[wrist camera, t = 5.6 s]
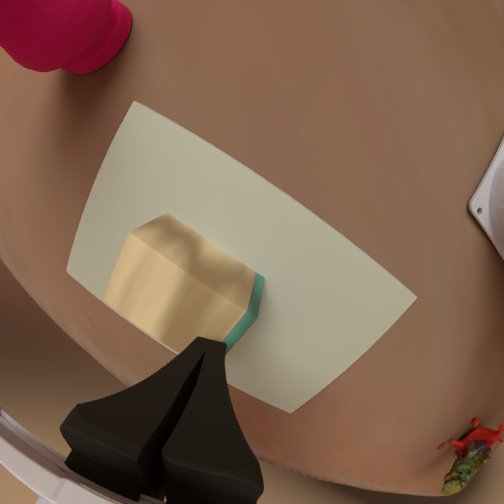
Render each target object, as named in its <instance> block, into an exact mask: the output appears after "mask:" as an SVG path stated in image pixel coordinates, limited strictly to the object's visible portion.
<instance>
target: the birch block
mask: <svg viewBox="0 0 504 504" xmlns="http://www.w3.org/2000/svg"><path fill="white" fill-rule="evenodd" d="M264 279H265V278H264V277H263V276H261V275H260V274H258V273H257V272H255V271H254V270H252V269H251V268H249V267H248V266H246V265H245V264H243V263H242V262H240V261H239V260H237V259H236V258H234V257H233V256H231V255H230V254H228V253H227V252H225V251H224V250H222V249H221V248H219V247H218V246H216V245H215V244H213V243H212V242H210V241H209V240H207V239H206V238H204V237H203V236H201V235H200V234H198V233H197V232H195V231H194V230H193V229H191V228H190V227H188V226H187V225H185V224H184V223H182V222H181V221H179V220H178V219H176V218H175V217H173V216H172V215H171V214H169V213H168V212H167V213H165V214H163V215H161V216H159V217H157V218H155V219H153V220H151V221H150V222H148V223H146V224H144V225H142V226H140V227H138V228H136V229H134V230H133V231H131V232H129V235H128V237H127V239H126V241H125V244H124V246H123V248H122V251H121V253H120V255H119V258H118V260H117V263H116V265H115V268H114V270H113V273H112V275H111V278H110V281H109V283H108V286H107V289H106V291H105V294H104V297H103V300H104V301H105V302H106V303H108V304H109V305H110V306H112V307H113V308H114V309H116V310H117V311H118V312H119V313H121V314H122V315H124V316H125V317H126V318H128V319H129V320H130V321H132V322H133V323H135V324H136V325H137V326H139V327H140V328H142V329H143V330H144V331H146V332H147V333H149V334H150V335H152V336H153V337H155V338H156V339H158V340H159V341H161V342H162V343H164V344H165V345H167V346H168V347H170V348H171V349H173V350H175V351H176V352H178V353H179V354H180V353H181V352H182V351H183V350H184V349H185V348H186V347H187V346H188V345H189V344H190V343H191V342H192V341H193V340H194V339H195V338H196V337H198V336H199V337H203V338H207V339H212V340H216V341H220V342H225V343H226V345H227V349H226V354H227V353H228V352H229V351H230V350H231V348H232V347H233V346H234V345H235V344H236V343H237V342H238V340H239V339H240V338H241V337H242V336H243V335H244V334H245V332H246V331H247V330H248V329H249V328H250V327H251V326H252V324H253V323H254V322H255V321H256V320H257V319H258V313H259V308H260V302H261V296H262V290H263V284H264Z"/></svg>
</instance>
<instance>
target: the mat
mask: <svg viewBox="0 0 504 504" xmlns="http://www.w3.org/2000/svg"><path fill="white" fill-rule="evenodd" d="M167 212H168V213H169V214H171V215H172V216H173V217H175V218H176V219H178V220H179V221H181V222H182V223H184V224H185V225H187V226H188V227H190V228H191V229H193V230H194V231H195V232H197V233H198V234H200V235H201V236H203V237H204V238H206V239H207V240H209V241H210V242H212V243H213V244H215V245H216V246H218V247H219V248H221V249H222V250H224V251H225V252H227V253H228V254H230V255H231V256H233V257H234V258H236V259H237V260H239V261H240V262H242V263H243V264H245V265H246V266H248V267H249V268H251V269H252V270H254V271H255V272H257V273H258V274H260V275H261V276H263V277H264V278H265V279H264V284H263V290H262V296H261V302H260V308H259V313H258V319H257V320H256V321H255V322H254V323H253V324H252V326H251V327H250V328H249V329H248V330H247V331H246V332H245V334H244V335H243V336H242V337H241V338H240V339H239V340H238V342H237V343H236V344H235V345H234V346H233V347H232V348H231V350H230V351H229V352H228V353H227V354H226V355H225V371H226V380H227V383H228V384H230V385H232V386H233V387H235V388H237V389H239V390H241V391H243V392H245V393H247V394H249V395H251V396H253V397H255V398H257V399H259V400H262V401H264V402H266V403H268V404H270V405H272V406H274V407H277V408H279V409H281V410H283V411H286V412H288V413H290V414H291V413H292V412H293V411H295V410H296V409H298V408H299V407H300V406H302V405H303V404H304V403H306V402H307V401H308V400H310V399H311V398H312V397H313V396H315V395H316V394H317V393H318V392H320V391H321V390H322V389H323V388H325V387H326V386H327V385H328V384H330V383H331V382H332V381H333V380H334V379H336V378H337V377H338V376H339V375H340V374H341V373H343V372H344V371H345V370H346V369H347V368H348V367H349V366H351V365H352V364H353V363H354V362H355V361H356V360H357V359H358V358H359V357H360V356H362V355H363V354H364V353H365V352H366V351H367V350H368V349H369V348H370V347H371V346H372V345H373V344H374V343H375V342H376V341H377V340H378V339H379V338H380V337H381V336H382V335H383V334H384V333H385V332H386V331H387V330H388V329H389V328H390V327H391V326H392V325H393V324H394V323H395V322H396V321H397V320H398V319H399V317H400V316H401V315H402V314H403V313H404V312H405V311H406V310H407V309H408V308H409V306H410V305H411V304H412V303H413V302H414V301H415V300H416V298H417V297H416V295H415V294H414V293H413V292H412V291H411V290H409V289H408V288H407V287H406V286H405V285H404V284H403V283H401V282H400V281H399V280H398V279H397V278H396V277H394V276H393V275H392V274H391V273H390V272H388V271H387V270H386V269H385V268H384V267H382V266H381V265H380V264H379V263H378V262H376V261H375V260H374V259H373V258H371V257H370V256H369V255H368V254H367V253H365V252H364V251H363V250H362V249H360V248H359V247H358V246H357V245H355V244H354V243H353V242H351V241H350V240H349V239H348V238H346V237H345V236H344V235H342V234H341V233H340V232H339V231H337V230H336V229H335V228H333V227H332V226H331V225H329V224H328V223H327V222H325V221H324V220H323V219H321V218H320V217H319V216H317V215H316V214H315V213H313V212H312V211H310V210H309V209H308V208H306V207H305V206H304V205H302V204H301V203H299V202H298V201H297V200H295V199H294V198H292V197H291V196H290V195H288V194H287V193H285V192H284V191H282V190H281V189H279V188H278V187H277V186H275V185H274V184H272V183H271V182H269V181H268V180H266V179H265V178H263V177H262V176H260V175H259V174H257V173H256V172H254V171H253V170H251V169H250V168H248V167H247V166H245V165H244V164H242V163H241V162H239V161H238V160H236V159H235V158H233V157H231V156H230V155H228V154H227V153H225V152H223V151H222V150H220V149H219V148H217V147H215V146H214V145H212V144H211V143H209V142H207V141H206V140H204V139H202V138H201V137H199V136H197V135H196V134H194V133H192V132H191V131H189V130H187V129H186V128H184V127H182V126H180V125H179V124H177V123H175V122H174V121H172V120H170V119H168V118H167V117H165V116H163V115H161V114H159V113H158V112H156V111H154V110H152V109H150V108H148V107H147V106H145V105H143V104H141V103H139V102H136V101H134V102H133V103H132V105H131V107H130V109H129V110H128V112H127V114H126V116H125V118H124V120H123V122H122V123H121V125H120V127H119V129H118V131H117V133H116V135H115V137H114V139H113V141H112V143H111V145H110V148H109V150H108V152H107V154H106V156H105V158H104V161H103V163H102V165H101V168H100V170H99V172H98V175H97V177H96V179H95V182H94V184H93V187H92V190H91V192H90V195H89V197H88V200H87V203H86V206H85V209H84V211H83V214H82V217H81V220H80V223H79V226H78V230H77V233H76V236H75V240H74V243H73V247H72V250H71V254H70V258H69V261H68V265H67V269H66V272H68V273H69V274H70V275H71V276H72V277H73V278H74V279H76V280H77V281H78V282H79V283H80V284H81V285H83V286H84V287H85V288H86V289H87V290H89V291H90V292H91V293H92V294H93V295H95V296H96V297H97V298H98V299H100V300H101V301H102V302H103V303H105V304H106V305H107V306H108V307H110V308H111V309H112V310H114V311H115V312H116V313H118V314H119V315H120V316H122V317H123V318H124V319H126V320H127V321H129V322H130V323H131V324H133V325H134V326H135V327H137V328H138V329H140V330H141V331H143V332H144V333H145V334H147V335H148V336H150V337H151V338H153V339H154V340H156V341H157V342H159V343H160V344H162V345H163V346H165V347H166V348H168V349H170V350H171V351H173V352H174V353H176V354H179V353H178V352H176V351H175V350H173V349H171V348H170V347H168V346H167V345H165V344H164V343H162V342H161V341H159V340H158V339H156V338H155V337H153V336H152V335H150V334H149V333H147V332H146V331H144V330H143V329H142V328H140V327H139V326H137V325H136V324H135V323H133V322H132V321H130V320H129V319H128V318H126V317H125V316H124V315H122V314H121V313H119V312H118V311H117V310H116V309H114V308H113V307H112V306H110V305H109V304H108V303H106V302H105V301H104V300H103V297H104V294H105V291H106V289H107V286H108V283H109V281H110V278H111V275H112V273H113V270H114V268H115V265H116V263H117V260H118V258H119V255H120V253H121V251H122V248H123V246H124V244H125V241H126V239H127V237H128V235H129V232H131V231H133V230H134V229H136V228H138V227H140V226H142V225H144V224H146V223H148V222H150V221H151V220H153V219H155V218H157V217H159V216H161V215H163V214H165V213H167Z"/></svg>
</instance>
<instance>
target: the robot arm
mask: <svg viewBox="0 0 504 504" xmlns="http://www.w3.org/2000/svg"><path fill="white" fill-rule="evenodd" d="M478 208H479V212H478V213H477V210H478ZM469 210H470V212H471V213H472V214H473V216H474V217H475V218H476V220H477V221H478V222H479V224H480V225H481V227H482V228H483V230H484V231H485V232H486V234H487V235H488V237H489V238H490V240H491V241H492V243H493V244H494V246H495V248H496V249H497V251H498V252H499V254H500V256H501V257H502V259H503V261H504V137H503V139H502V141H501V143H500V145H499V148H498V150H497V152H496V154H495V156H494V158H493V160H492V162H491V164H490V166H489V168H488V170H487V172H486V173H485V175H484V177H483V179H482V181H481V183H480V184H479V186H478V188H477V190H476V191H475V193H474V195H473V196H472V198H471V200H470V202H469ZM226 349H227V345H226V343H225V342H220V341H216V340H212V339H207V338H203V337H199V336H198V337H196V338H195V339H194V340H193V341H192V342H191V343H190V344H189V345H188V346H187V347H186V348H185V349H184V350H183V351H182V352H181V353H180V354H178V355H177V356H176V357H175V358H174V359H173V360H171V361H170V362H169V363H168V364H166V365H165V366H164V367H162V368H161V369H160V370H158V371H157V372H156V373H154V374H153V375H151V376H149V377H148V378H146V379H144V380H143V381H141V382H139V383H137V384H135V385H133V386H131V387H129V388H127V389H126V390H123V391H121V392H118V393H115V394H113V395H110V396H107V397H105V398H101V399H98V400H94V401H90V402H86V403H82V404H77V406H76V407H75V408H74V409H73V410H72V411H71V412H70V413H69V415H68V416H67V417H66V419H65V420H64V422H63V423H62V424H61V426H60V431H61V433H62V436H63V437H64V439H65V440H66V442H67V443H68V445H69V446H70V448H71V449H72V451H71V453H70V454H69V456H68V457H65V456H63V455H62V454H60V453H59V452H57V451H56V450H54V449H52V448H51V447H49V446H48V445H47V444H45V443H44V442H42V441H41V440H39V439H38V438H36V437H35V436H34V435H33V434H31V433H30V432H29V431H27V430H26V429H25V428H23V427H22V426H21V425H20V424H18V423H17V422H16V421H15V420H14V419H12V418H11V417H10V416H9V415H8V414H6V413H5V412H4V411H3V410H2V409H1V407H0V463H1V464H2V465H3V466H4V467H5V468H6V469H7V470H8V471H9V472H11V473H12V474H13V475H14V476H15V477H16V478H18V479H19V480H20V481H21V482H22V483H24V484H25V485H26V486H28V487H29V488H30V489H31V490H33V491H34V492H35V493H37V494H38V495H39V498H38V500H37V501H36V503H35V504H118V503H116V502H113V501H111V500H109V499H107V498H105V497H103V496H101V495H99V494H97V493H95V492H93V491H91V490H89V489H87V488H85V487H83V486H82V484H83V485H85V486H87V487H89V488H91V489H93V490H95V491H97V492H99V493H101V494H103V495H105V496H107V497H109V498H111V499H113V500H115V501H118V502H120V503H122V504H256V503H257V500H258V498H259V497H260V496H261V495H262V493H263V490H264V485H263V477H262V473H261V469H260V465H259V462H258V460H257V458H256V457H255V455H254V454H253V452H252V450H251V448H250V447H249V445H248V443H247V441H246V439H245V437H244V435H243V433H242V430H241V428H240V426H239V423H238V421H237V419H236V416H235V413H234V410H233V407H232V403H231V399H230V395H229V391H228V386H227V380H226V371H225V355H226ZM74 479H75V480H74ZM77 481H78V482H77ZM79 482H80V483H82V484H80V483H79ZM165 497H166V499H167V501H166V502H164V498H165Z"/></svg>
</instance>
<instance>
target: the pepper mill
mask: <svg viewBox="0 0 504 504" xmlns="http://www.w3.org/2000/svg"><path fill="white" fill-rule="evenodd" d="M131 26H132V16H131V12H130V10H129V9H128V8H127V7H126V6H124V5H123V4H122V3H121V2H119V1H118V0H0V46H1V47H2V48H3V49H4V50H5V51H6V52H7V53H8V54H9V55H10V56H11V57H12V58H13V59H14V61H16V62H17V63H19V64H20V65H22V66H23V67H25V68H27V69H31V70H34V71H37V72H49V71H53V70H56V69H58V68H61V69H62V70H66V71H69V72H73V73H76V74H87V73H91V72H93V71H96V70H98V69H100V68H101V67H102V66H104V65H105V64H106V63H108V62H109V61H110V60H111V59H112V58H113V57H114V56H115V55H116V54H117V53H118V51H119V50H120V49H121V48H122V46H123V45H124V43H125V41H126V39H127V37H128V36H129V33H130V29H131Z"/></svg>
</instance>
